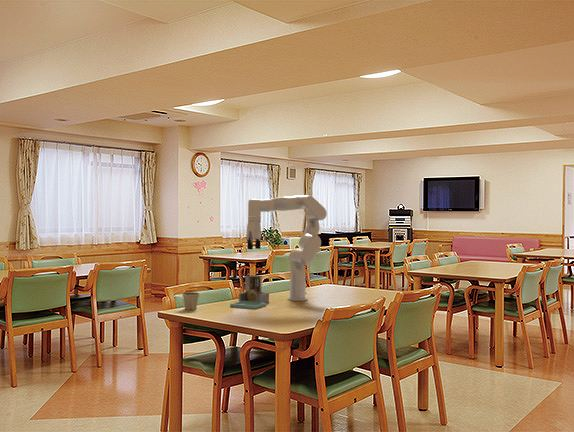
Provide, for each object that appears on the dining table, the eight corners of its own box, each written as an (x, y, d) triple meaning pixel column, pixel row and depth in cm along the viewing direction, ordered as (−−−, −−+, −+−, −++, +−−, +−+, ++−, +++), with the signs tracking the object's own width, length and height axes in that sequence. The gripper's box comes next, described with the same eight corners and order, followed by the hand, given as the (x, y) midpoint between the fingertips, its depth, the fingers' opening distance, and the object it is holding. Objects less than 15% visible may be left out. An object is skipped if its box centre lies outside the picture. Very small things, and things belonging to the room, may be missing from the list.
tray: (241, 303, 327) (241, 300, 328) (265, 306, 321) (265, 302, 321) (230, 306, 316) (230, 303, 316) (255, 309, 309) (255, 306, 309)
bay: (248, 300, 339) (248, 291, 339) (268, 302, 333) (268, 292, 333) (238, 303, 329) (238, 293, 329) (259, 305, 323) (260, 294, 323)
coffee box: (261, 302, 333) (262, 275, 333) (260, 304, 327) (260, 276, 327) (246, 302, 334) (247, 275, 334) (244, 303, 328) (245, 276, 328)
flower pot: (195, 310, 301) (195, 294, 301) (179, 310, 303) (179, 294, 303) (201, 308, 310) (202, 292, 310) (185, 307, 312) (186, 291, 312)
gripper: (255, 220, 340) (255, 248, 340) (241, 219, 324) (241, 249, 324) (266, 220, 337) (266, 248, 337) (253, 220, 321) (252, 249, 321)
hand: (253, 248), depth 330 cm, fingers open, 9 cm apart
